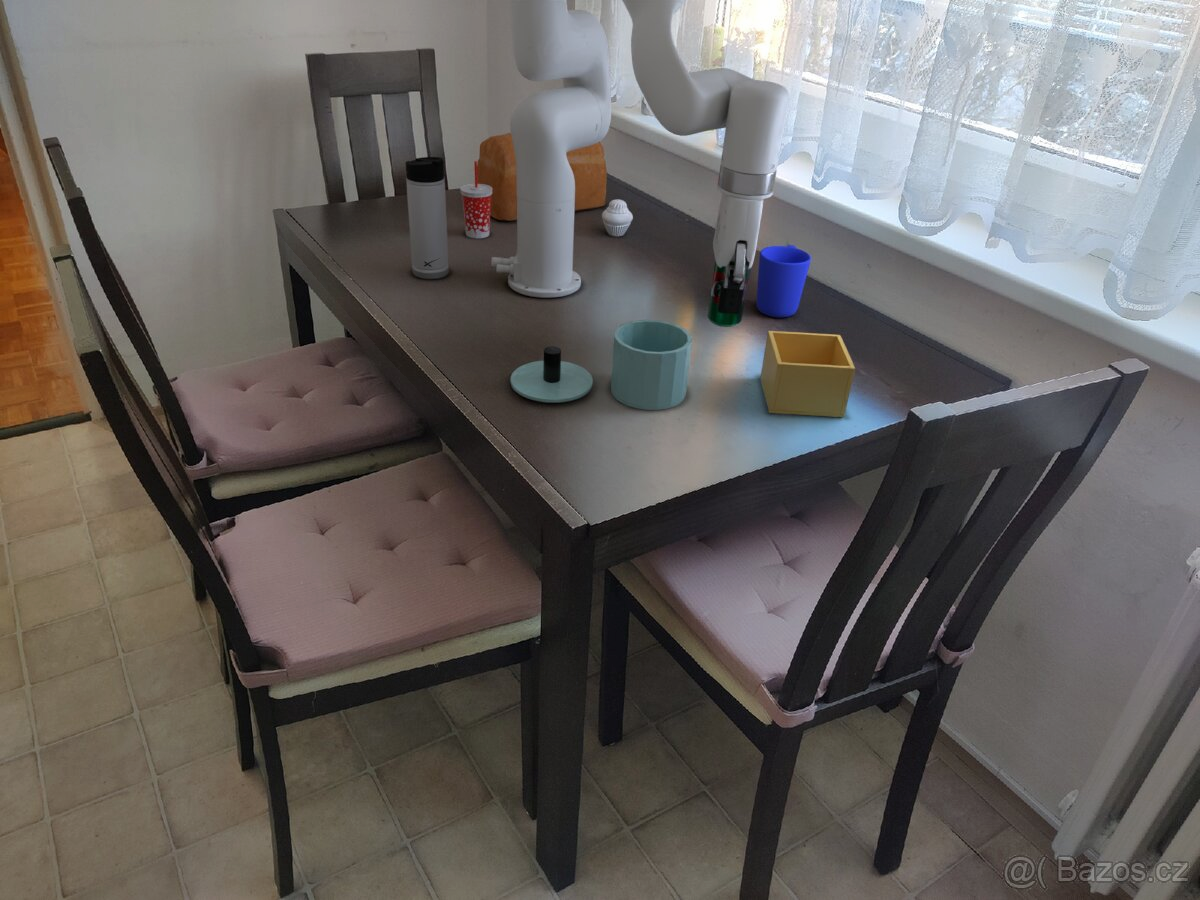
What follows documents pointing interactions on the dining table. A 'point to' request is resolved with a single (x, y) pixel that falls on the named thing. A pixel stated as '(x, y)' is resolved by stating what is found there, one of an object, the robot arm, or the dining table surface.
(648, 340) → the pot
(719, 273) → the soda can
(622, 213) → the muffin
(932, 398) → the dining table surface
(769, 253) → the mug
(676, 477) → the dining table surface
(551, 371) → the pot lid
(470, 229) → the beverage cup
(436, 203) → the travel mug
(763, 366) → the bin
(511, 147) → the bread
